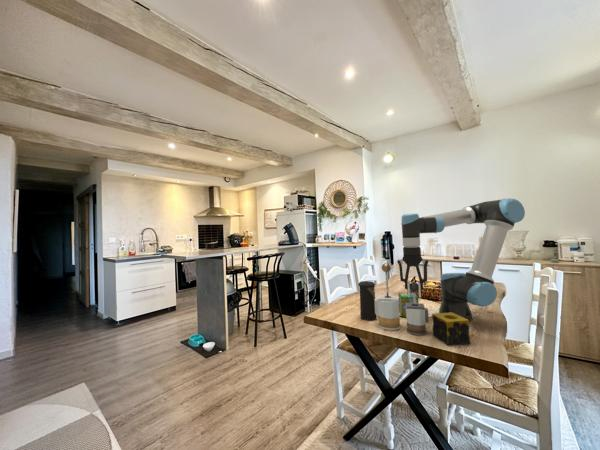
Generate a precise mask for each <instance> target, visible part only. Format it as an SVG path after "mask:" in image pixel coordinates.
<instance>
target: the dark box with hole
mask: <svg viewBox="0 0 600 450" xmlns="http://www.w3.org/2000/svg"><path fill="white" fill-rule="evenodd" d="M431 317H432V322H433V324H432V336H433V337H434V338H435V339H437V340H438V341H440V342H442V343H443V344H445V345H447V346H460V345H469V344H471V337H470V321H469V320H468V319H465V318H463V317H461V316H459V315H457V314H455V313H453V312H450V313H439V312H438V313H437V312H436V313H435V312H434V313H432V314H431Z"/></svg>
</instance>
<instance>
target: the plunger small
mask: <svg viewBox="0 0 600 450" xmlns="http://www.w3.org/2000/svg"><path fill="white" fill-rule="evenodd" d="M409 288H410V290H411V292H412V293H413V299H414V306H416V297H415V294H416V292H418V288H419V287H418V283H416V282H411V283H409Z"/></svg>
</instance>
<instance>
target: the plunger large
mask: <svg viewBox="0 0 600 450" xmlns="http://www.w3.org/2000/svg"><path fill="white" fill-rule="evenodd" d="M391 269H392V268H391V264H389V263H383V264H382V265H381V270H382V272H384V273H385V292H386V295H387V298H389V295H390V294H389V293H390V292H389V279H388V277H389V276H388V275H389V274H388V272H390V271H391Z"/></svg>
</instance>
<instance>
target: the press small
mask: <svg viewBox="0 0 600 450" xmlns="http://www.w3.org/2000/svg"><path fill="white" fill-rule="evenodd" d="M405 318H406V333H408V334H410V335H413V336H418V337H421V336H426V335H427V327H426V326H427V324H429V320H430V319H429V309H428V308H427V307H425V305H424V303H416V306H414V303H406V317H405Z"/></svg>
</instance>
